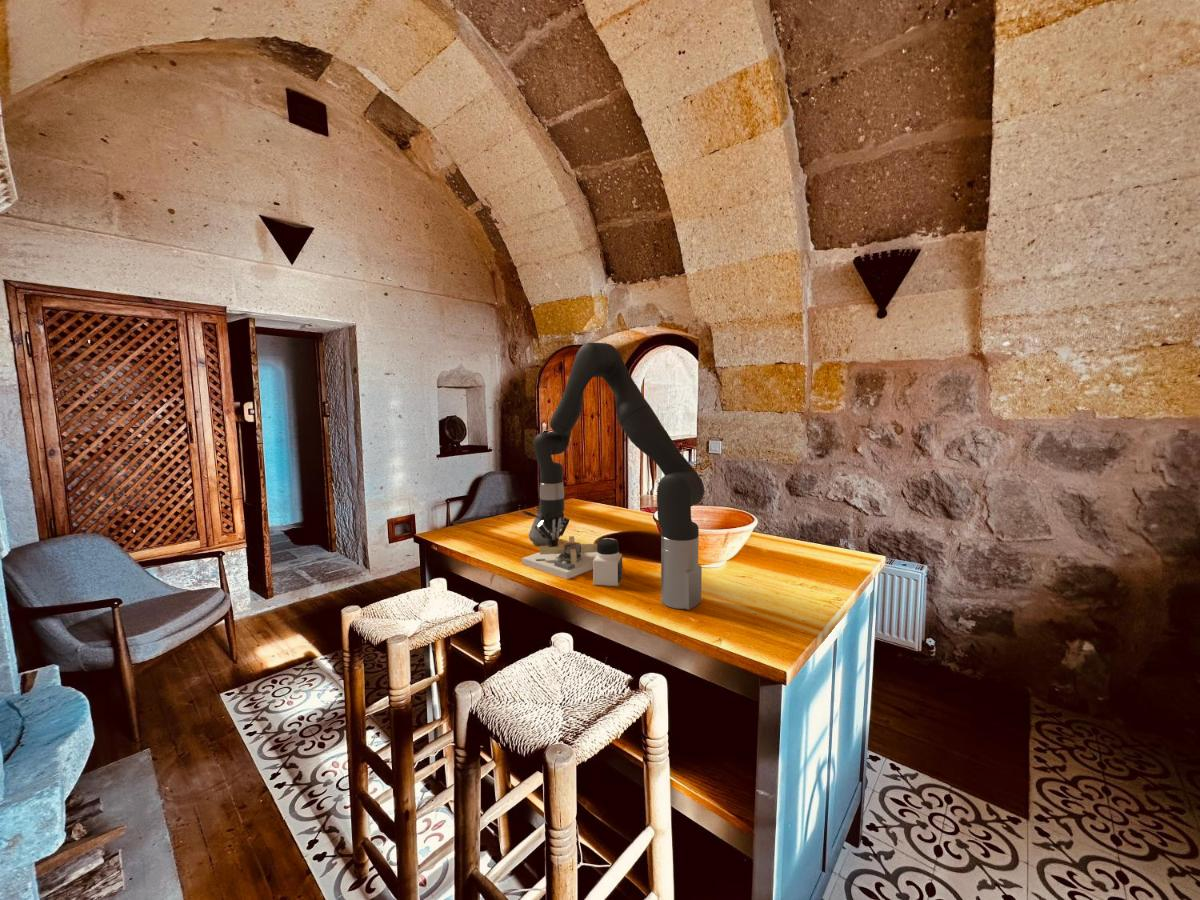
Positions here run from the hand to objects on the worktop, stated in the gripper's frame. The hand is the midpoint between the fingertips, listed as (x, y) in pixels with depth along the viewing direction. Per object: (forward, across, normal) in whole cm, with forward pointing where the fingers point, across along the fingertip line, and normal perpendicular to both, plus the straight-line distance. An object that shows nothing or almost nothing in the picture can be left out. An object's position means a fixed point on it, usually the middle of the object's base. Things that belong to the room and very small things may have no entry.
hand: (553, 550), depth 155 cm
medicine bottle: (+4, 0, -23) cm, 23 cm away
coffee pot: (+4, +8, +17) cm, 19 cm away
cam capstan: (+2, +2, -6) cm, 7 cm away
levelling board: (+4, +2, -3) cm, 6 cm away
